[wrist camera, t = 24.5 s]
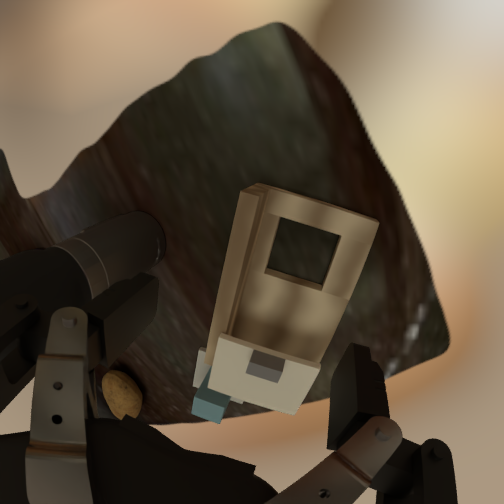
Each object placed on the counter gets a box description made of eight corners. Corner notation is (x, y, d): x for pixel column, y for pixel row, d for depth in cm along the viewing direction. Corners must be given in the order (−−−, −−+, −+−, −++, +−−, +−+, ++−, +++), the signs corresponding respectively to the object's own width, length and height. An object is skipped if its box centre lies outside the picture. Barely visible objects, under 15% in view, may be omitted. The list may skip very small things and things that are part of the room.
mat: (194, 382, 53) (192, 385, 52) (201, 346, 49) (198, 349, 48) (243, 400, 51) (242, 404, 50) (256, 366, 48) (254, 369, 47)
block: (211, 365, 48) (194, 396, 41) (238, 375, 48) (224, 408, 41) (207, 383, 50) (191, 413, 43) (232, 392, 50) (219, 424, 42)
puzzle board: (222, 330, 47) (203, 363, 39) (257, 182, 37) (240, 191, 30) (316, 360, 44) (313, 397, 37) (376, 219, 35) (390, 238, 28)
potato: (143, 366, 55) (123, 391, 48) (153, 408, 60) (138, 431, 52) (107, 354, 57) (86, 375, 50) (120, 395, 62) (104, 416, 54)
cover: (209, 383, 40) (201, 399, 36) (221, 332, 36) (212, 348, 33) (295, 410, 38) (291, 428, 35) (320, 364, 34) (319, 382, 31)
